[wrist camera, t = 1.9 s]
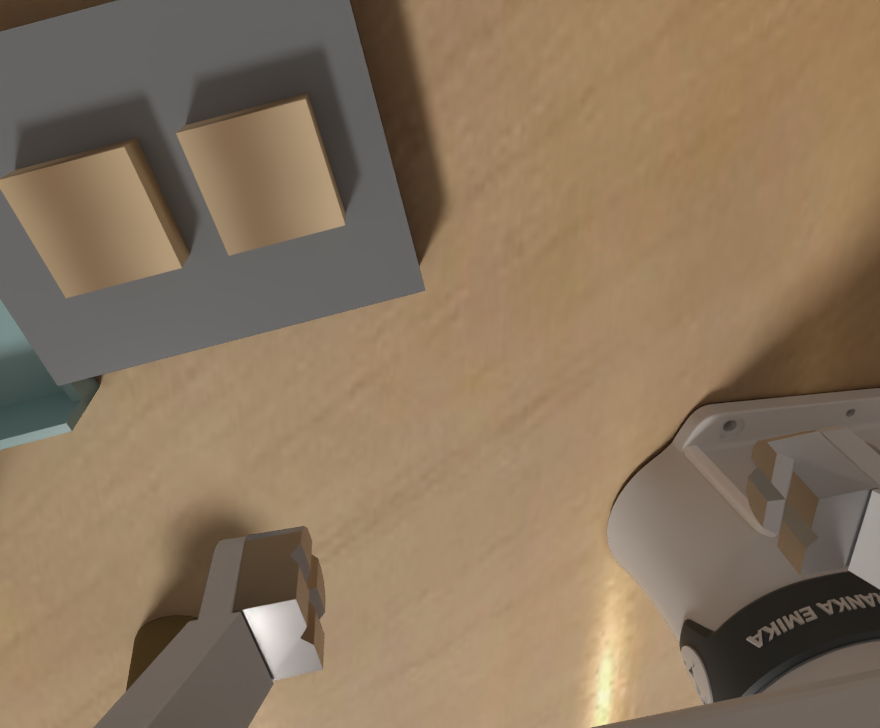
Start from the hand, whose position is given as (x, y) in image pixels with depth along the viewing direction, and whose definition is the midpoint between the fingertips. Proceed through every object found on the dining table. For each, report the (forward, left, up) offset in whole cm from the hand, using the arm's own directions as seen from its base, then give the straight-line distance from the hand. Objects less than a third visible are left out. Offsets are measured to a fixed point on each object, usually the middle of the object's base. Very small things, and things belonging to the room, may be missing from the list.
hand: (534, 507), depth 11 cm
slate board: (+10, -3, -22) cm, 24 cm away
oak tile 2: (+13, -3, -19) cm, 23 cm away
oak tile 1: (+6, -3, -19) cm, 20 cm away
